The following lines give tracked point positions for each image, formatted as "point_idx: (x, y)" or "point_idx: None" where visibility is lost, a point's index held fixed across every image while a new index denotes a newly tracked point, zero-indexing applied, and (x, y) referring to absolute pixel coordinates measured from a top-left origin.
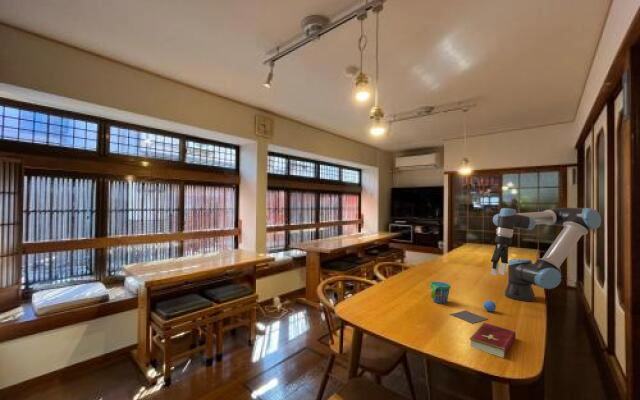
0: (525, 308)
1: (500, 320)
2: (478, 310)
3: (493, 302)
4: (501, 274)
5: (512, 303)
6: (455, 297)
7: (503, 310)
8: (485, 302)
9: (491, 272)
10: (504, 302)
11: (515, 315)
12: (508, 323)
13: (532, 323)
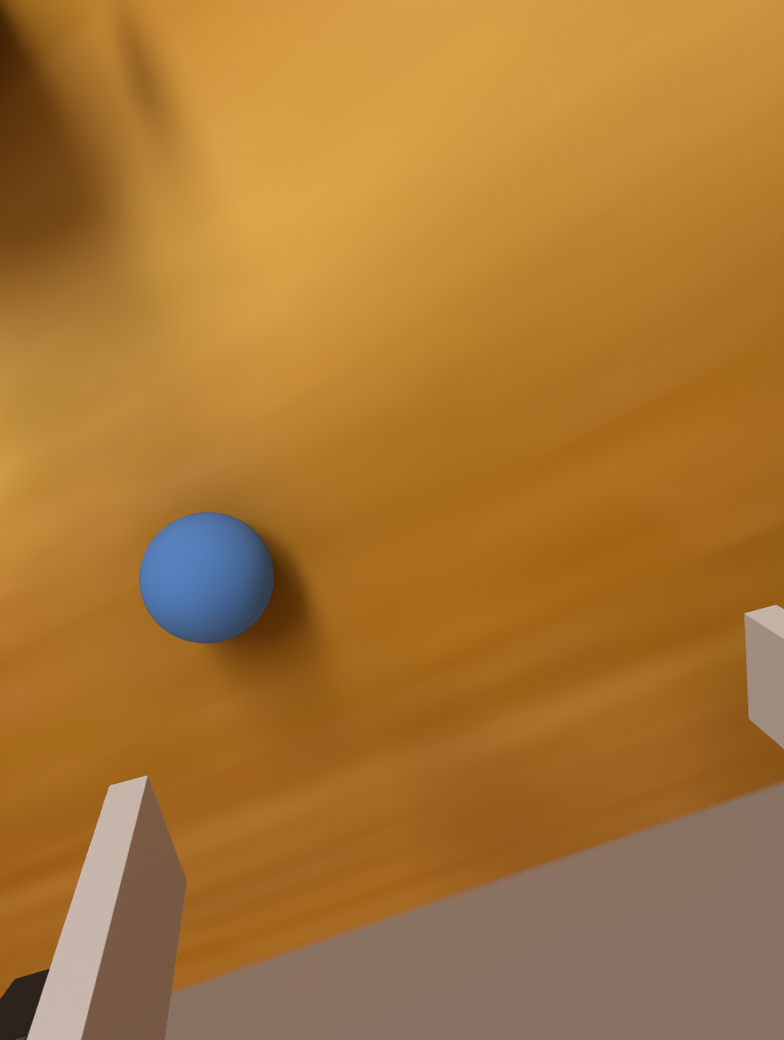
0: (683, 695)
1: (88, 736)
2: (128, 482)
3: (218, 628)
4: (748, 675)
5: (741, 547)
6: (290, 9)
7: (396, 615)
8: (154, 559)
9: (106, 832)
10: (696, 482)
11: (362, 741)
12: (91, 802)
13: (301, 895)
